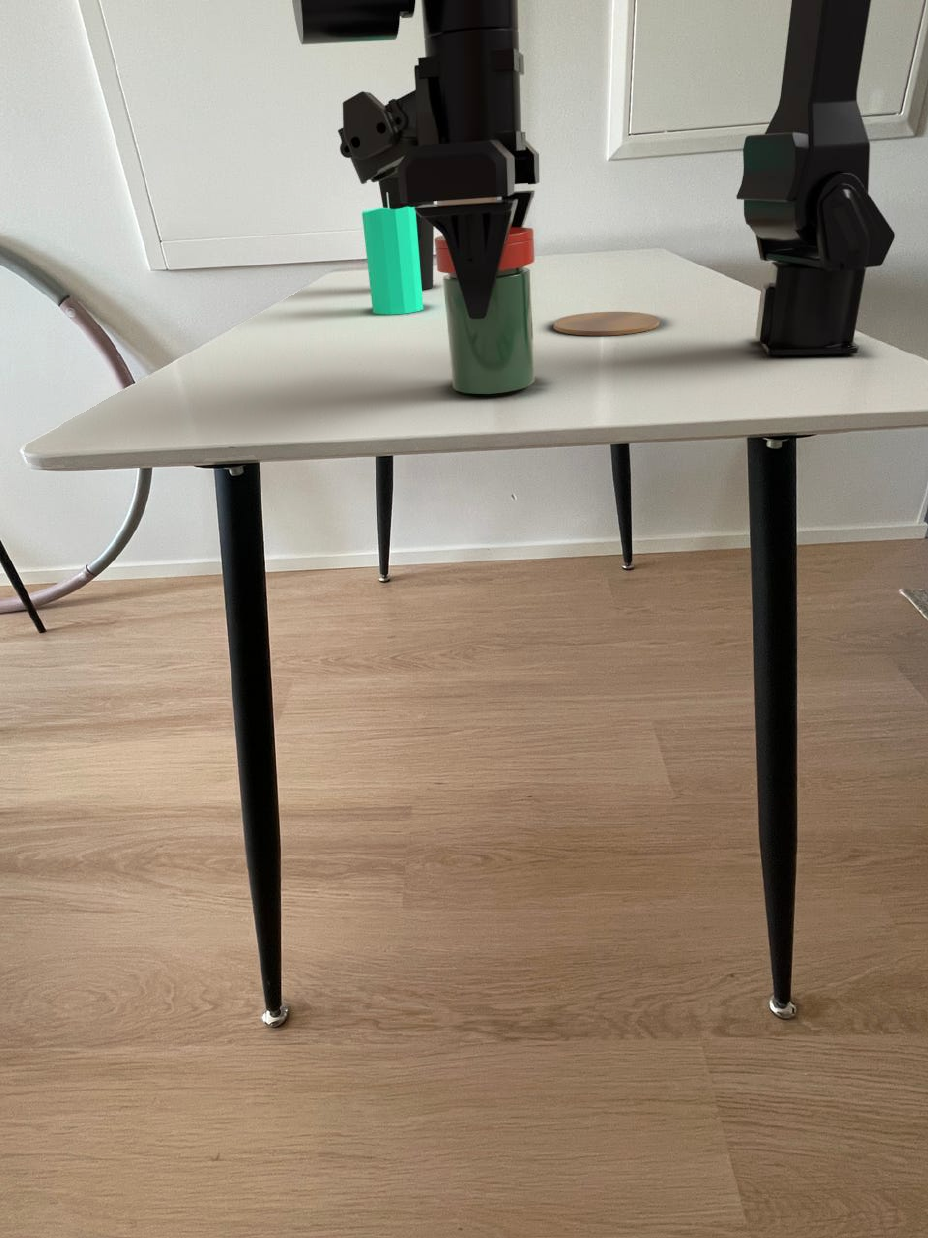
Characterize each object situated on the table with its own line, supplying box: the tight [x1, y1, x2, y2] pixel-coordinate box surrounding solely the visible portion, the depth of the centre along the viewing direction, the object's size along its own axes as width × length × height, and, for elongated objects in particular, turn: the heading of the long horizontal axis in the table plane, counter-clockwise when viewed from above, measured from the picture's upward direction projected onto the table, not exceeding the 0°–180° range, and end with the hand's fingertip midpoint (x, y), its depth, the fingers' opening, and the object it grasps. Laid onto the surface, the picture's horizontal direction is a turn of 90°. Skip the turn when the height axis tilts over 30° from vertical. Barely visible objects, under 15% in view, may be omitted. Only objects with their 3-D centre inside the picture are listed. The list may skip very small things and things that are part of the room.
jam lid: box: [434, 227, 535, 274], centre depth 54 cm, size 7×7×2 cm
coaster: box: [553, 311, 660, 337], centre depth 76 cm, size 10×10×1 cm
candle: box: [361, 192, 424, 316], centre depth 89 cm, size 6×6×12 cm
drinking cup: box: [377, 169, 435, 291], centre depth 101 cm, size 8×8×20 cm
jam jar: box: [442, 266, 536, 395], centre depth 56 cm, size 6×6×9 cm
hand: (485, 309), depth 56 cm, fingers closed on jam jar, jam lid, 6 cm apart
